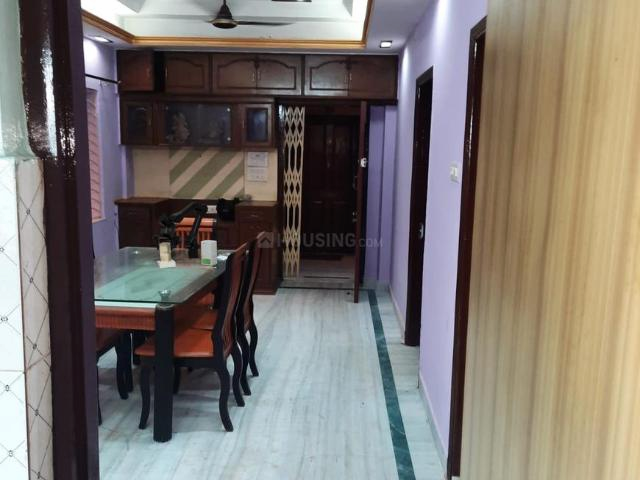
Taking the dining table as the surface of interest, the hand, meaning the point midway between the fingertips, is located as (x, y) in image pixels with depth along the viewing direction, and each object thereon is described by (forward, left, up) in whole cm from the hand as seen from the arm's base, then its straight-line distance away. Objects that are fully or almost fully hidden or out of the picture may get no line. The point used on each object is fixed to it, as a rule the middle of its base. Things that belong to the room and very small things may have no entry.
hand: (164, 250), depth 357 cm
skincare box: (-27, +10, -11) cm, 31 cm away
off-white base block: (-1, -1, -11) cm, 11 cm away
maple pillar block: (-1, -1, -8) cm, 8 cm away
